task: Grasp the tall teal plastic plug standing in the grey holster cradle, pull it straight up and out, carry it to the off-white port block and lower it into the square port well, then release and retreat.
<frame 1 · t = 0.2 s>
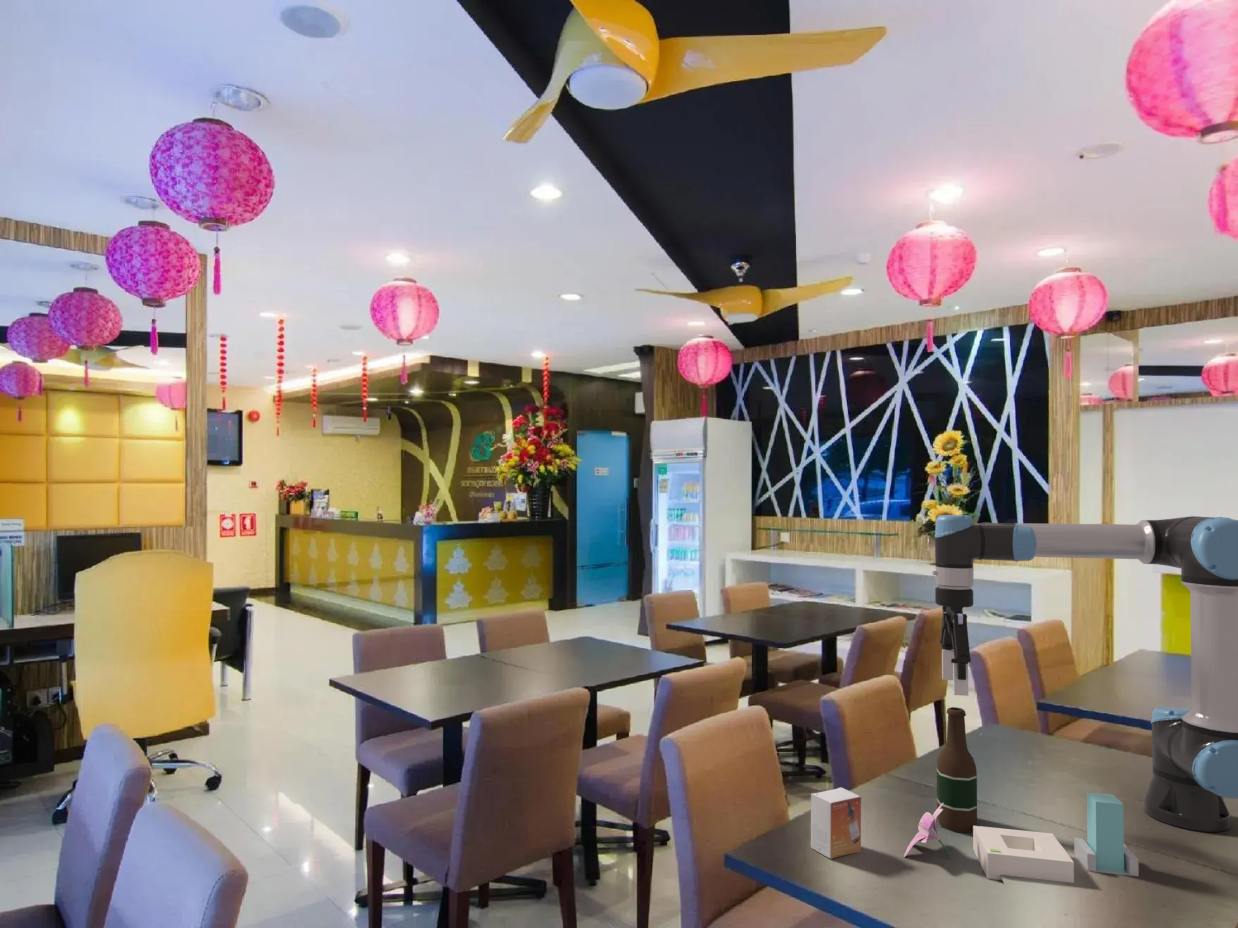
hand: (954, 687, 167), 28 cm above the table, fingers open, 13 cm apart
holster: (1105, 869, 144), on the table
small box: (835, 850, 151), on the table
lily: (926, 854, 150), on the table
beer bottle: (956, 826, 163), on the table
port: (1021, 867, 144), on the table
plug: (1105, 864, 144), point 1 cm above the table, touching holster
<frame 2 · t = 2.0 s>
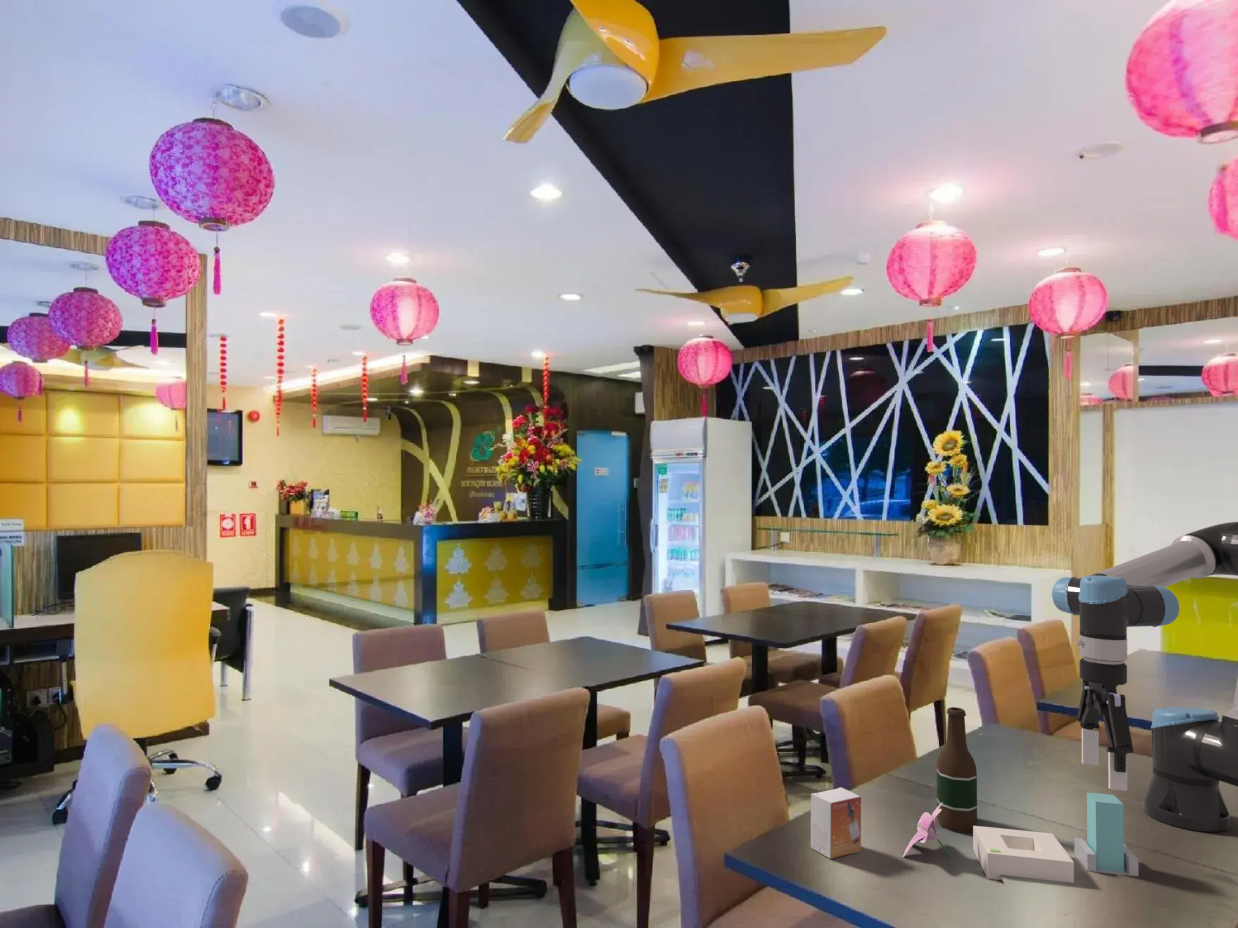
hand: (1103, 776, 145), 17 cm above the table, fingers open, 13 cm apart
nothing on the table moved.
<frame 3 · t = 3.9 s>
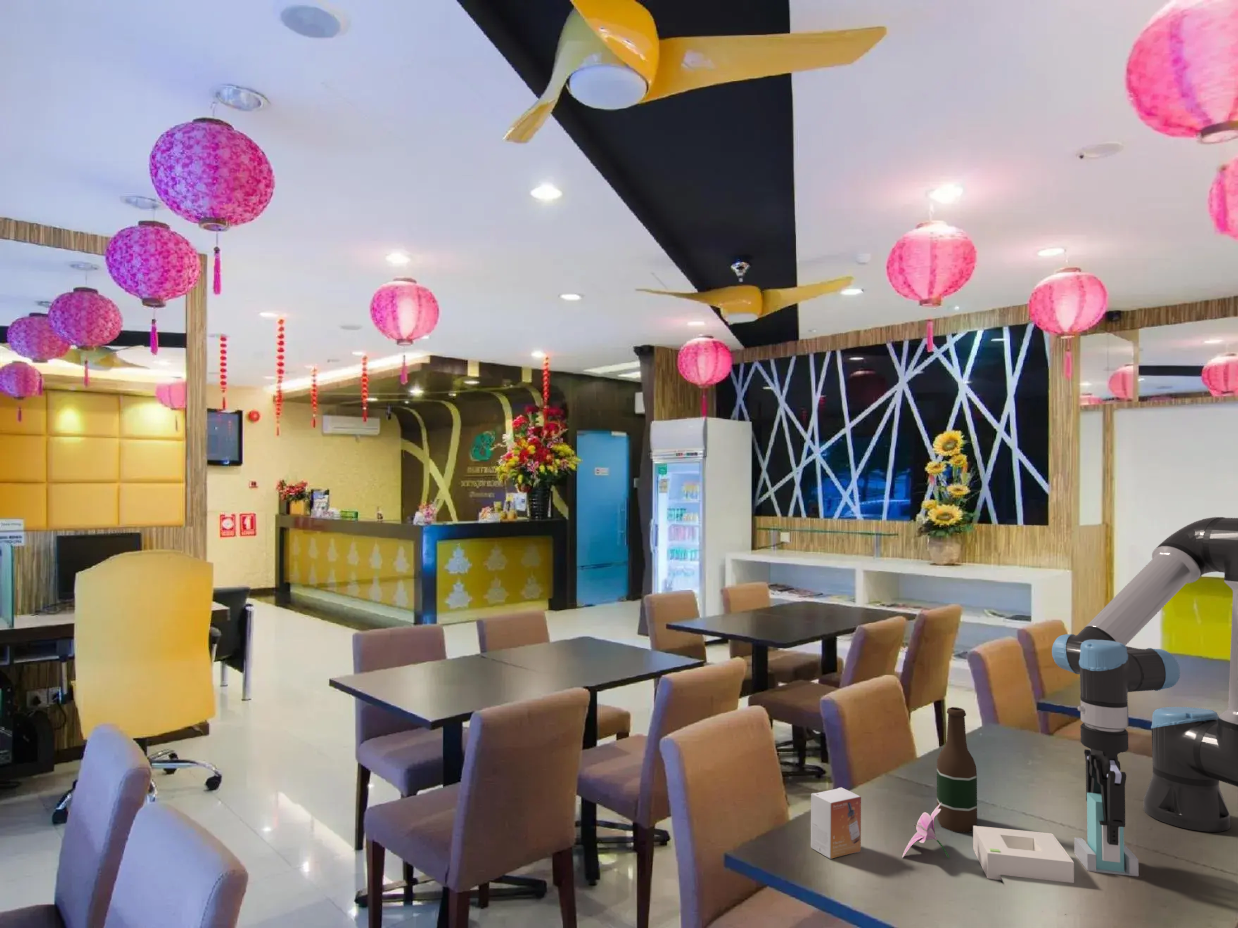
hand: (1105, 853, 144), 3 cm above the table, fingers closed on plug, 4 cm apart
plug: (1105, 864, 144), point 1 cm above the table, touching gripper, holster
everything else where it was.
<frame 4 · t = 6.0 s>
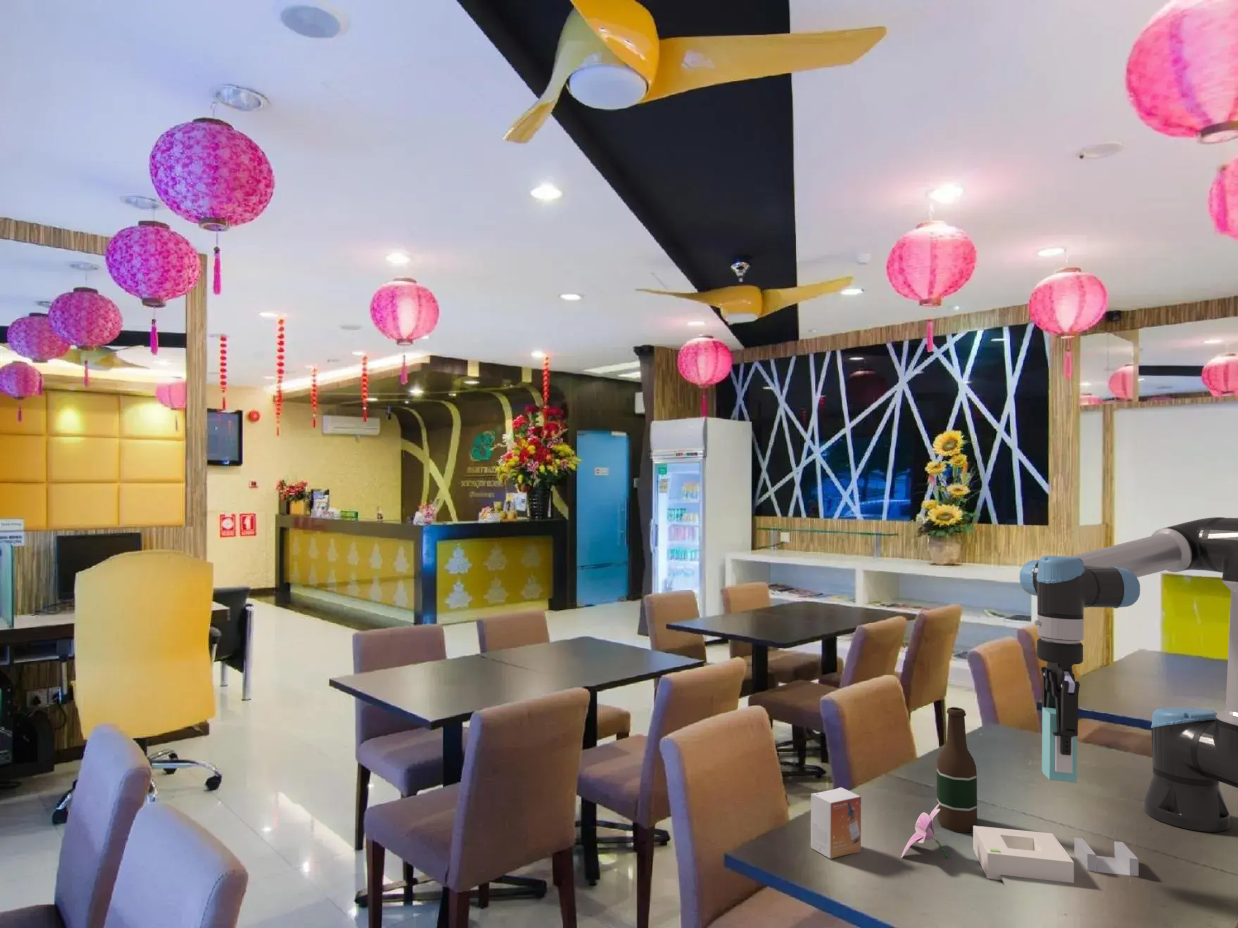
hand: (1058, 766, 145), 19 cm above the table, fingers closed on plug, 4 cm apart
plug: (1058, 776, 145), point 17 cm above the table, touching gripper
everything else where it was.
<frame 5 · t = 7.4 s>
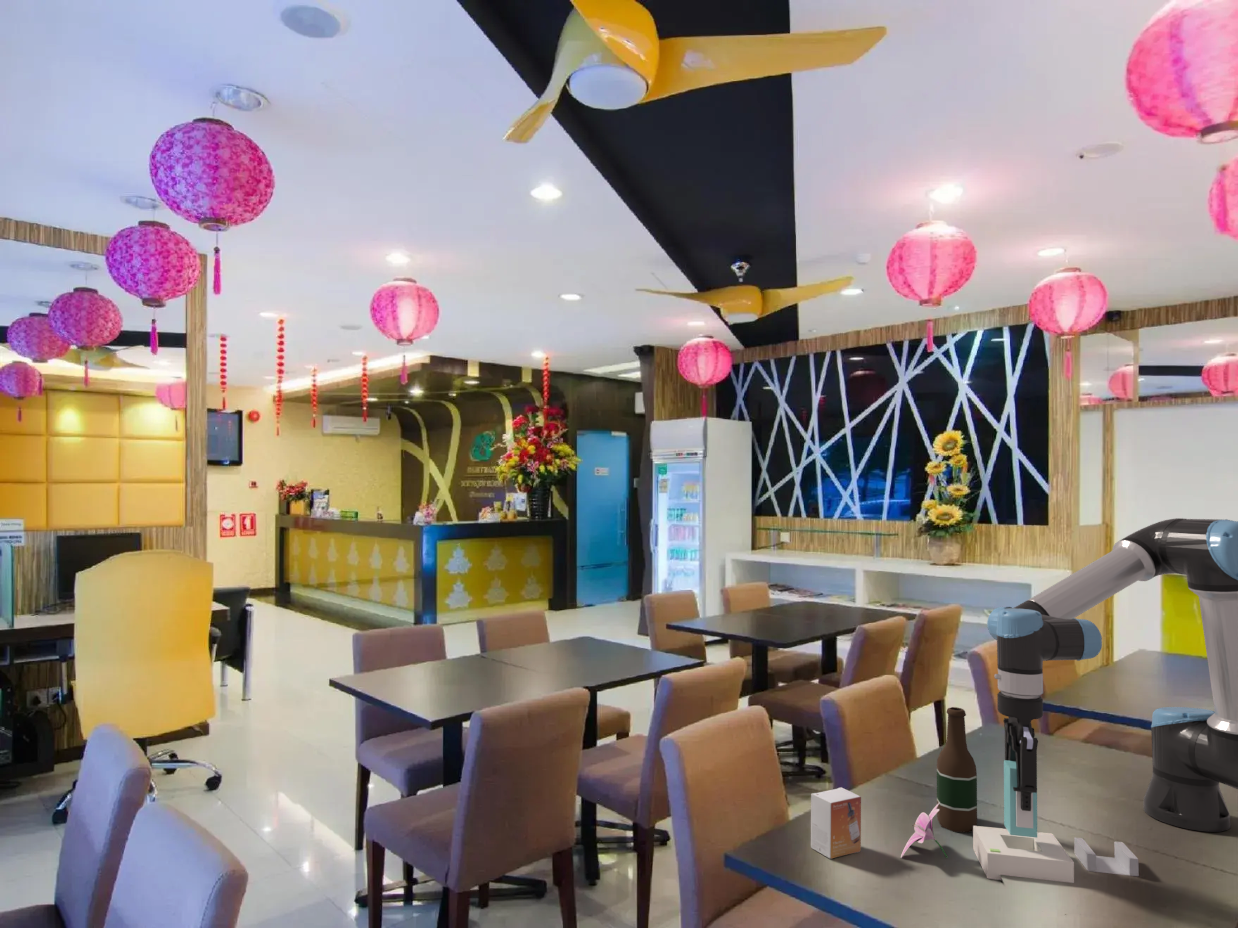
hand: (1020, 820, 145), 9 cm above the table, fingers closed on plug, 4 cm apart
plug: (1020, 830, 145), point 7 cm above the table, touching gripper
everything else where it was.
when the fingers open (5 cm above the table, at t = 8.2 s): plug drops 2 cm, resting on port.
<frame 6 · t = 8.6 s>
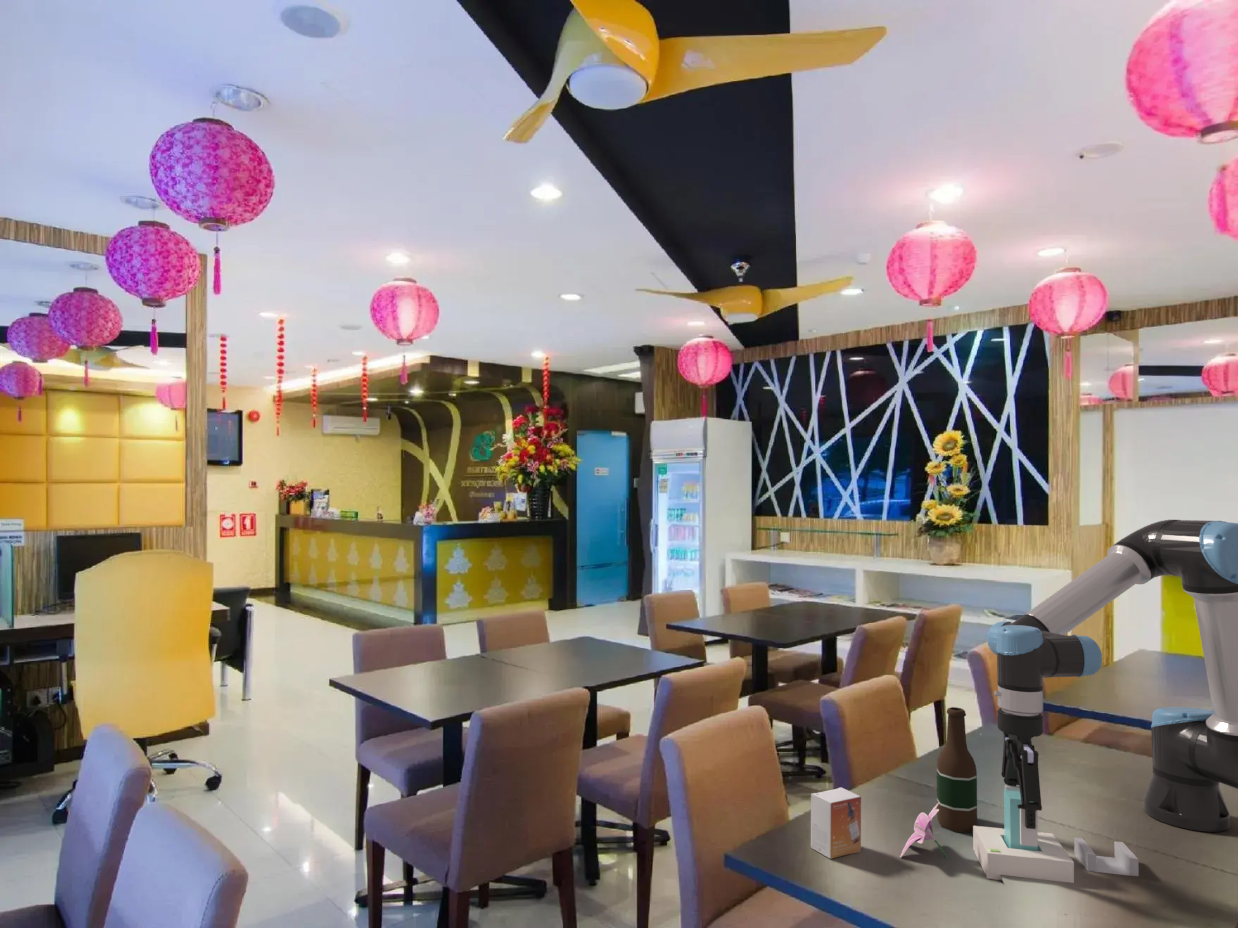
hand: (1020, 832, 145), 6 cm above the table, fingers open, 10 cm apart
plug: (1020, 861, 145), point 1 cm above the table, touching port
everything else where it was.
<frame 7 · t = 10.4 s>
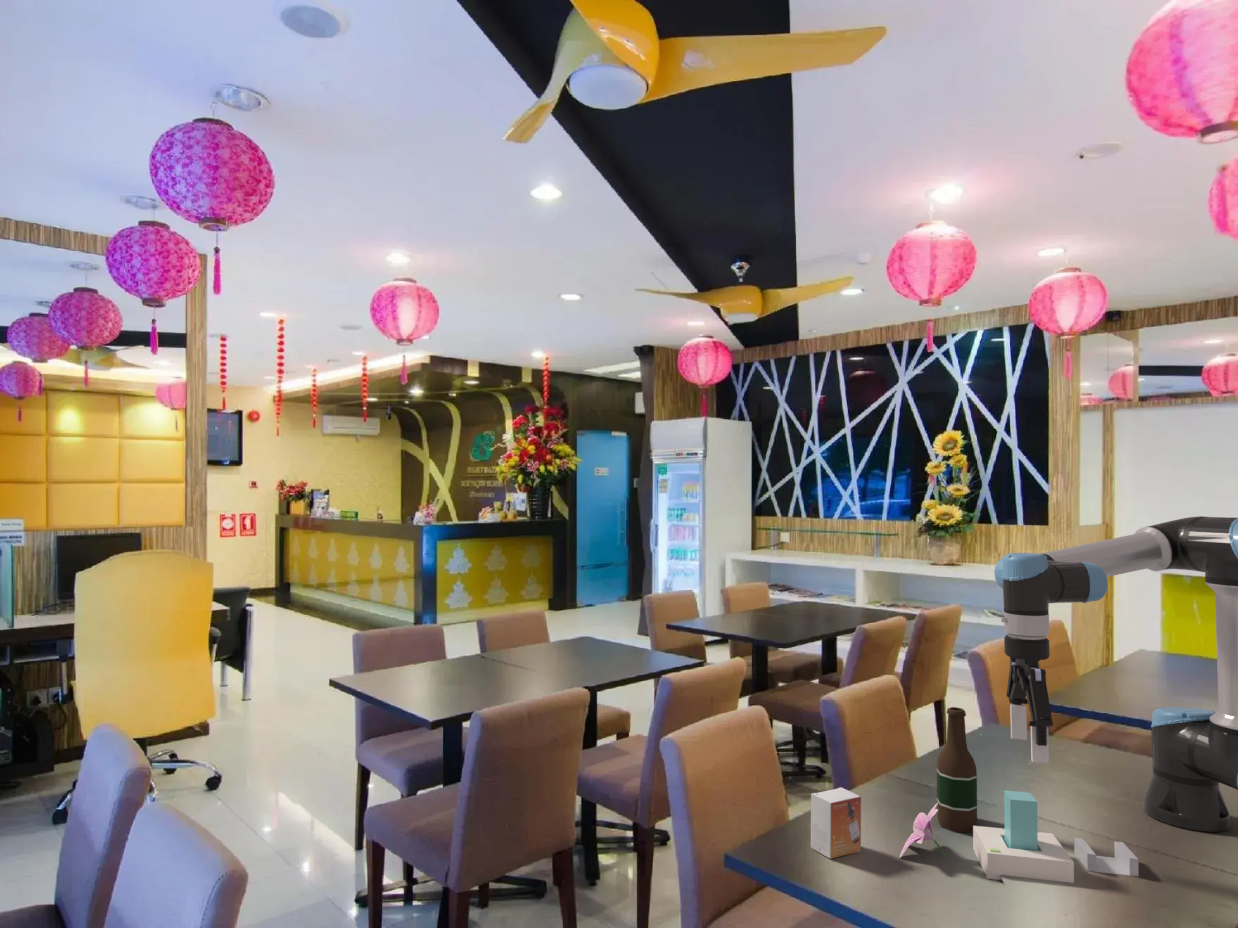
hand: (1029, 750, 147), 21 cm above the table, fingers open, 13 cm apart
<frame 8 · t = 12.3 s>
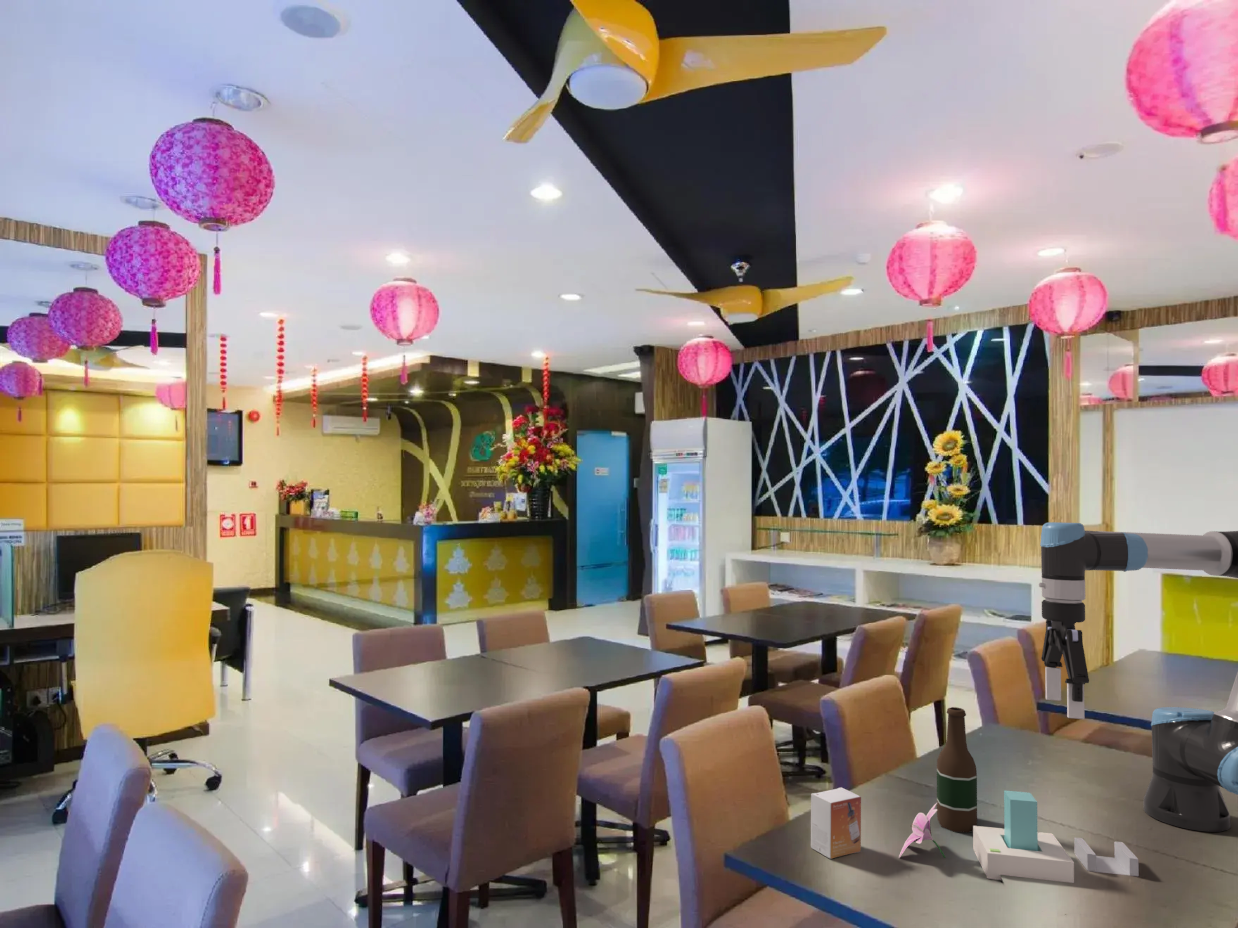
hand: (1064, 708, 155), 27 cm above the table, fingers open, 13 cm apart
at the end: plug 0.1 cm off-centre on the port, point 1.0 cm above the port's base; plug tilted 0°; the gripper is holding nothing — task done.
